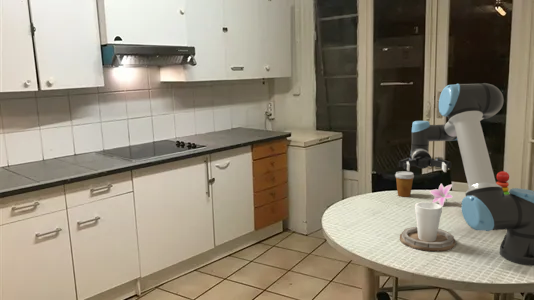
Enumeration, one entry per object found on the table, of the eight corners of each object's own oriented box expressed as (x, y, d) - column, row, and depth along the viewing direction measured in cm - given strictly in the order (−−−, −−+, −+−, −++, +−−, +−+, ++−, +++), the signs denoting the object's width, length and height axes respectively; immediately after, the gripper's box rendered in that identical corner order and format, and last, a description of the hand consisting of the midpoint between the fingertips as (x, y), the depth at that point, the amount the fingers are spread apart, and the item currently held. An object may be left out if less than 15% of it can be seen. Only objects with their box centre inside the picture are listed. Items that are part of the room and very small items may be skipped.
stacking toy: (512, 215, 192) (515, 173, 189) (493, 214, 194) (496, 173, 191) (506, 209, 200) (509, 169, 197) (488, 209, 202) (490, 169, 198)
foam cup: (437, 244, 159) (438, 210, 156) (411, 240, 163) (412, 207, 161) (442, 236, 166) (443, 203, 164) (417, 232, 171) (418, 200, 169)
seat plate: (467, 244, 161) (468, 238, 160) (429, 255, 152) (429, 249, 151) (425, 228, 178) (425, 222, 178) (388, 237, 169) (388, 231, 169)
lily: (428, 201, 220) (423, 187, 215) (450, 192, 218) (446, 177, 214) (438, 215, 209) (434, 200, 205) (462, 206, 208) (458, 191, 203)
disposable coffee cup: (416, 195, 228) (417, 172, 226) (408, 199, 221) (409, 176, 219) (399, 192, 234) (400, 170, 232) (391, 195, 227) (391, 173, 225)
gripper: (451, 167, 188) (460, 178, 168) (392, 166, 194) (393, 176, 174) (452, 150, 187) (461, 159, 166) (392, 149, 193) (393, 158, 173)
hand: (426, 168), depth 170 cm, fingers open, 13 cm apart
